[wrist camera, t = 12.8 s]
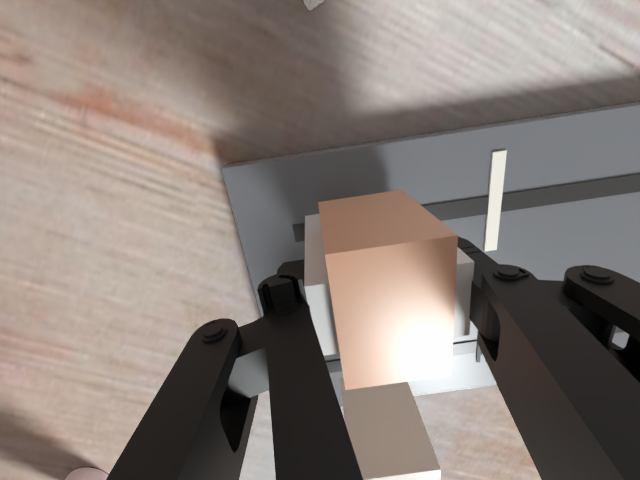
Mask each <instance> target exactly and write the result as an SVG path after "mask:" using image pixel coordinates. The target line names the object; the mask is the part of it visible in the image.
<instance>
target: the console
mask: <svg viewBox="0 0 640 480" xmlns="http://www.w3.org/2000/svg"><path fill="white" fill-rule="evenodd" d="M221 171H222V174H223V178H224V182H225V185H226V189H227V193H228V196H229V200H230V204H231V208H232V211H233V215H234V219H235V222H236V226H237V230H238V234H239V237H240V241H241V245H242V248H243V252H244V256H245V260H246V263H247V267H248V271H249V274H250V278H251V282H252V285H253V289H254V293H255V297H256V300H257V304H258V308H259V311H260V315H261V317H263V316H264V315H263V310H262V306H261V302H260V299H259V295H258V291H257V289H258V285H259V284H260V283H261V282H262V281H263V280H265V279H266V278H268V277H270V276H273V275H276V274H277V270H278V268H279V267H280V266H281V265H282V264H283V263H284V262H289V261H296V260H303V259H305V216H308V215H314V214H320V213H319V206H318V202H322V201H329V200H336V199H342V198H349V197H356V196H363V195H369V194H376V193H383V192H389V191H396V190H403V191H404V192H405V193H406V194H408V195H409V196H410V197H411V198H413V199H414V200H415V201H416V202H418V203H419V204H420V205H421V206H422V207H424V208H425V209H426V210H427V211H429V212H430V213H431V214H432V215H434V216H435V217H436V218H437V219H438V220H440V221H441V222H442V223H443V224H445V225H446V226H447V227H448V228H450V229H451V230H452V231H453V232H454V233H456V234H457V235H458V236H459V237H461V238H464V239H467V240H469V241H470V242H471V243H473V244H474V245H475V246H476V247H478V248H479V249H480V250H481V251H482V252H484V253H485V254H486V255H488V256H489V257H490V258H492V259H493V260H494V261H495V262H497V263H498V264H508V265H513V266H518V267H521V268H524V269H526V270H528V271H529V272H531V273H532V274H533V275H534V276H535V277H536V278H537V279H538V280H557V281H563V280H564V275H565V271H566V270H567V269H568V268H570V267H573V266H581V265H590V266H592V265H594V266H599V267H602V268H607V269H610V270H613V271H615V272H618V273H620V274H622V275H624V276H627V277H629V278H631V279H633V280H635V281H637V282H639V283H640V101H639V102H632V103H626V104H619V105H612V106H606V107H599V108H593V109H586V110H579V111H573V112H566V113H560V114H553V115H547V116H540V117H533V118H527V119H520V120H514V121H507V122H501V123H494V124H487V125H481V126H474V127H468V128H461V129H454V130H448V131H441V132H435V133H428V134H422V135H415V136H408V137H402V138H395V139H389V140H382V141H375V142H369V143H362V144H356V145H349V146H343V147H336V148H329V149H323V150H316V151H310V152H303V153H297V154H290V155H283V156H277V157H270V158H264V159H257V160H250V161H244V162H237V163H231V164H227V165H226V166H224V167H223V168H221ZM477 332H478V329H477V328H476V327H475V325H474V324H473V323H472V322H471V320H470V334H469V335H466V336H459V337H453V355H452V376H445V377H438V378H430V379H423V380H416V381H409V382H408V384H409V386H410V389H411V392H412V394H413V396H418V395H426V394H433V393H440V392H448V391H455V390H462V389H469V388H477V387H484V386H491V385H497V383H496V381H495V379H494V377H493V375H492V373H491V371H490V369H489V366H488V364H487V362H485V358H484V356H483V354H481V358H480V362H476V344H477ZM628 338H629V334H628V333H626V332H624V331H623V330H621V329H620V328H618V327H617V328H616V331H615V334H614V337H613V340H612V342H613V343H614V344H616V345H617V346H619V347H621V348H624V347H625V346H626V343H627V340H628ZM324 358H325V362H326V365H327V368H328V371H329V374H330V377H331V380H332V383H333V387H334V390H335V393H336V396H337V399H338V402H339V405H340V406H343V403H342V395H341V387H340V378H342V377H343V372H342V365H341V359H340V353H339V354H332V355H325V356H324Z"/></svg>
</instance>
